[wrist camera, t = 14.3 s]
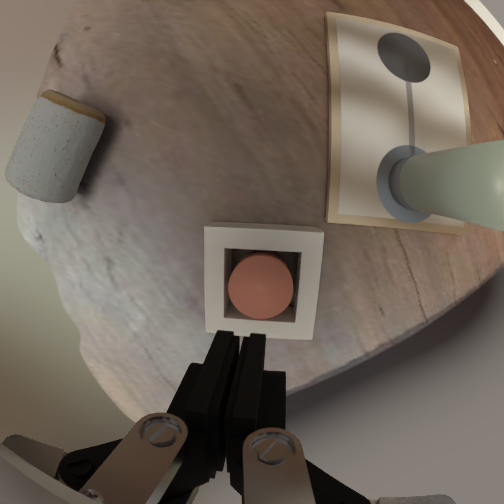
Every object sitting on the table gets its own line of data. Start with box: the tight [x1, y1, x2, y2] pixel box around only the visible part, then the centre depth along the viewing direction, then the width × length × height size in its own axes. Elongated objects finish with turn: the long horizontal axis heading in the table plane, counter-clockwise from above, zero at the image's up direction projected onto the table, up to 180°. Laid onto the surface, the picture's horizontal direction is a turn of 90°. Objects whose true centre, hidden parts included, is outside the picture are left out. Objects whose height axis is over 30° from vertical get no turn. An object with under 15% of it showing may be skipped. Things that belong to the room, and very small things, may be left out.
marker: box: [388, 140, 504, 232], centre depth 13 cm, size 4×4×11 cm
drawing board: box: [325, 12, 472, 236], centre depth 18 cm, size 18×13×1 cm
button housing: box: [204, 221, 324, 340], centre depth 21 cm, size 8×8×3 cm
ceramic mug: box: [5, 90, 106, 203], centre depth 18 cm, size 11×8×8 cm
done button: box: [228, 251, 293, 319], centre depth 20 cm, size 4×4×2 cm
